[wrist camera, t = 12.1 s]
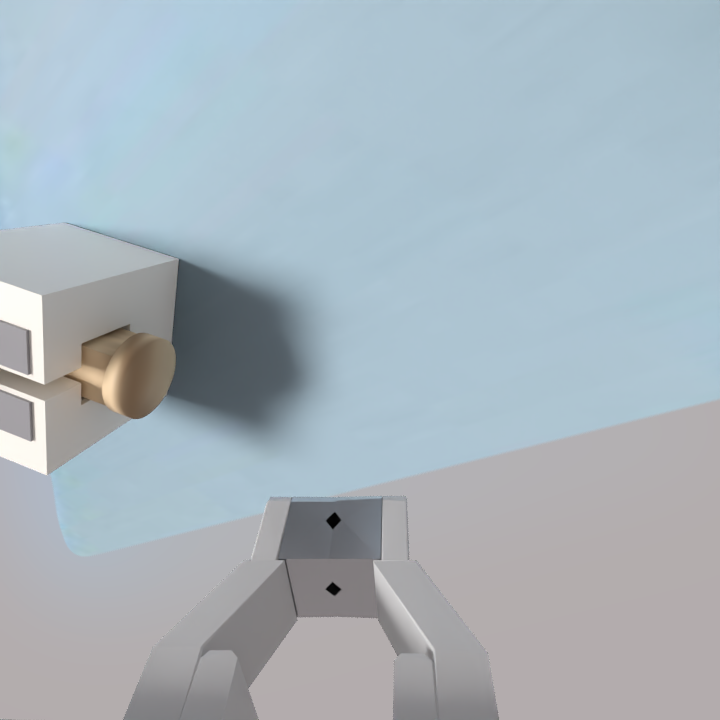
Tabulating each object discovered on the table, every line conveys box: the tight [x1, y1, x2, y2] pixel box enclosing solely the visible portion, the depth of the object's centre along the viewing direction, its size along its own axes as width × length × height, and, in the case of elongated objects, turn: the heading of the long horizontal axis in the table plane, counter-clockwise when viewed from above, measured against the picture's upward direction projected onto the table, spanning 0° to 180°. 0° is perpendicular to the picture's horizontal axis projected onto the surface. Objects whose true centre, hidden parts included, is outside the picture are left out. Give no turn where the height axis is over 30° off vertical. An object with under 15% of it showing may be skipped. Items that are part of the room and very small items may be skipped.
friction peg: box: [64, 328, 176, 419], centre depth 33 cm, size 12×6×12 cm, turn 77°
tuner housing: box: [0, 223, 179, 475], centre depth 38 cm, size 11×13×14 cm
